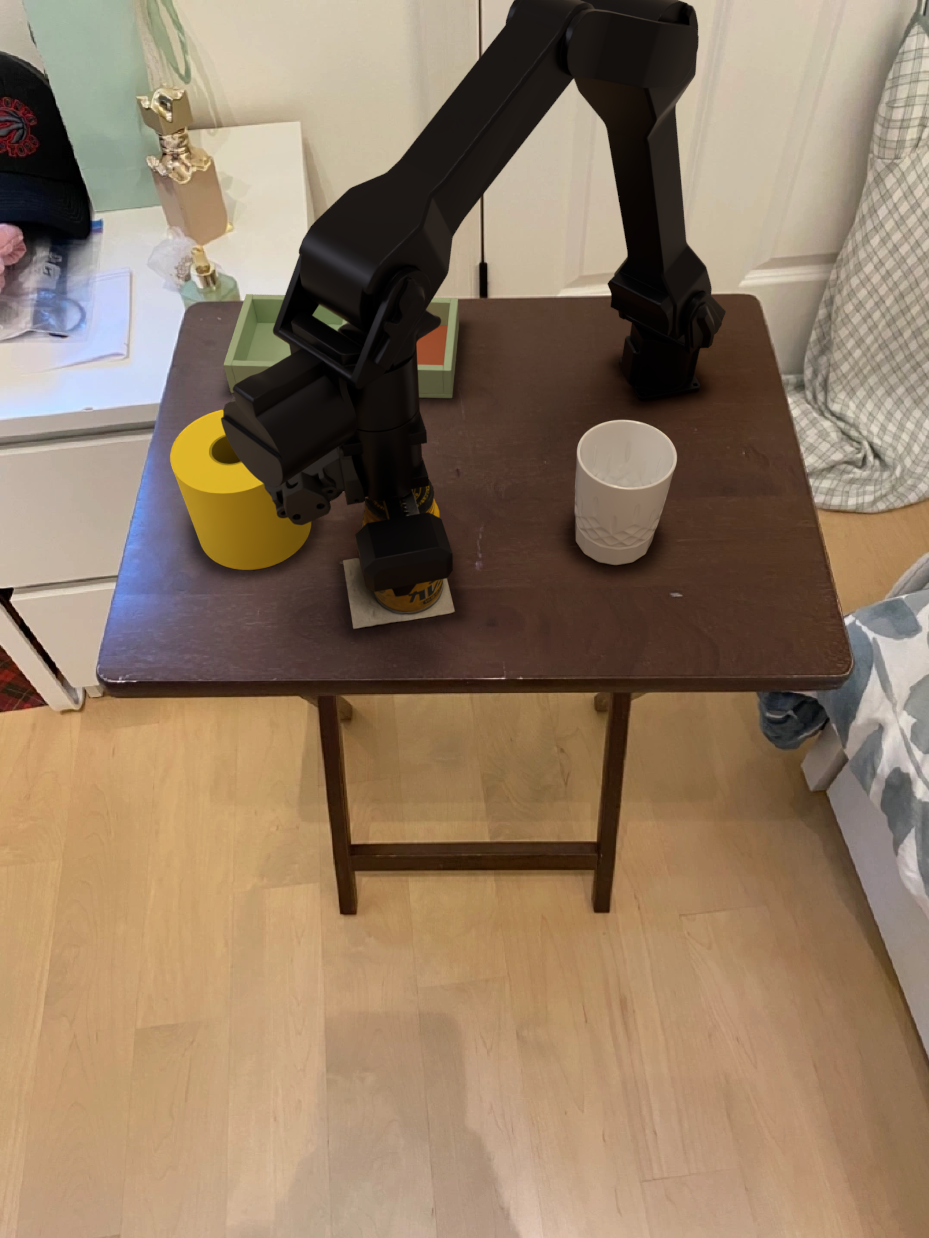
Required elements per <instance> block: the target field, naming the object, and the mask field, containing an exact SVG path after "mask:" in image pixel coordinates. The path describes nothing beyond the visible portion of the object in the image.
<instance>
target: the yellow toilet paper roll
mask: <svg viewBox="0 0 929 1238" xmlns="http://www.w3.org/2000/svg"><path fill="white" fill-rule="evenodd" d="M222 417H223V409H219V410H215V411H213V412H210V413H207V414H204V415H203V416H200V417H198V418H196V419H195V420H193V421H192V422H191V423H189V424H188V425H187V426H186V427H185V428H184V429H183V430H181V432H180V433H179V434H178V435H177V437H176V438H175V439H174V441H173V443H172V446H171V449H170V453H169V454H170V455H169V461H170V466H171V469H172V472H173V474H174V476H175V479H176V482H177V484H178V488H179V490H180V493H181V496H182V498H183V500H184V503H185V507H186V509H187V512H188V514H189V516H190V520H191V522H192V525H193V528H194V530H195V533H196V535H197V538H198V541H199V544H200V546H201V549H202V551H204V553H205V554H206V556H208V557H209V558H210V559H211V560H212V561H213V562H215V563H216V564H219V565H221V566H223V567H226V568H229V569H234V570H239V571H253V570H260V569H261V570H262V569H266V568H269V567H272V566H275V565H278V564H280V563H282V562H284V561H286V560H287V559H289V558H291V557H292V556H293V555H294V554H296V553H297V552H298V551H299V550H300V549H301V548H302V547H303V545H304V544H305V542H306V541H307V540H308V538H309V535H310V532H311V529H312V521H311V522H309V523H307V524H304V525H296V524H293V523H292V521H291V520H290V519H289V518H288V517H287V518H280V517H278V516H277V512H276V506H275V504H274V502H273V501H272V497H271V496H270V494H269V493H268V492H267V491H266V489H265V487H264V483H262V482H261V481H259V480H258V479H257V478H256V477H255V476H254V475H253V474H252V473H251V472H250V471H249V470H248V469H247V468H246V467H245V466H244V464H243V463H242V462H241V460H240V459H239V458H238V456H237V455H236V453H235V452H234V450H233V448H232V447H231V445H230V443H229V441H228V439H227V437H226V435H225V432H224V429H223V426H222V422H221V418H222Z"/></svg>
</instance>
